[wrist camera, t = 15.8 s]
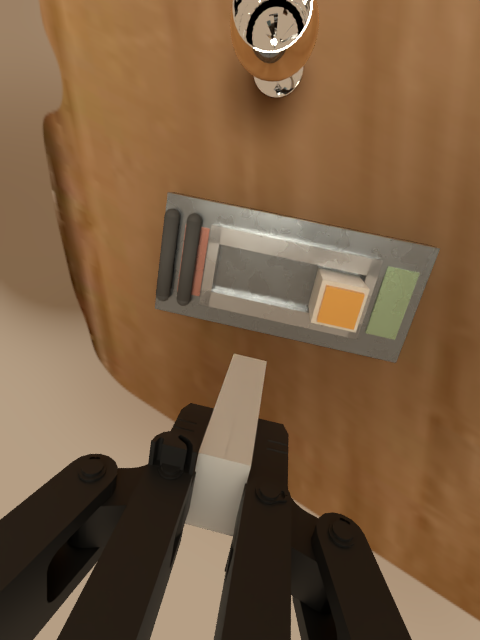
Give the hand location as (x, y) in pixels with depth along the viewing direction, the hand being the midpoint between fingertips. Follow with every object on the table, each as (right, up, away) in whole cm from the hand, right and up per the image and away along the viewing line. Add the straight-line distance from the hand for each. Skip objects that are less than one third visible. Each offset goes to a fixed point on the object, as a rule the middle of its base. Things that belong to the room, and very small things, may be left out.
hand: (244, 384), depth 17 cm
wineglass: (+3, +25, +16) cm, 30 cm away
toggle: (+9, +6, +20) cm, 22 cm away
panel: (+5, +7, +22) cm, 24 cm away
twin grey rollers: (-6, +9, +21) cm, 23 cm away
